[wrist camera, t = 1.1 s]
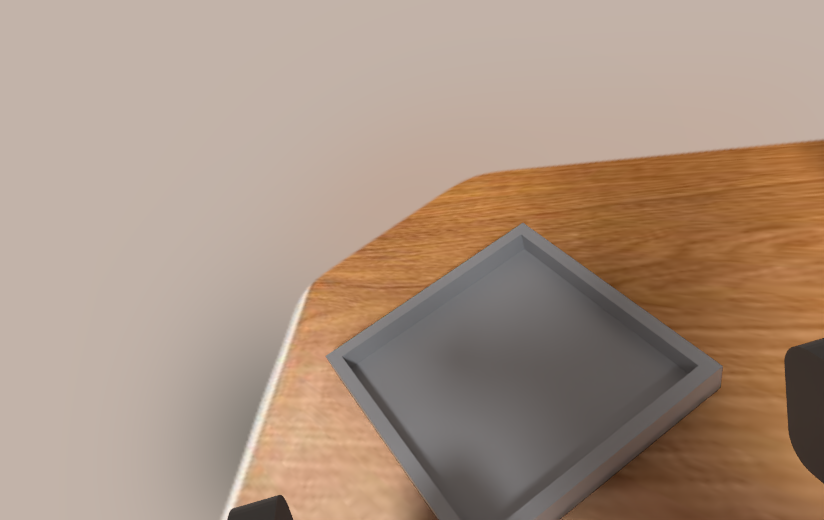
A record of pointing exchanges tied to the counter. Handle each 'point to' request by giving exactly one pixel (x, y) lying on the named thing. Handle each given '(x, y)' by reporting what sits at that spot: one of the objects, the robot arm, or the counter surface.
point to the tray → (520, 382)
